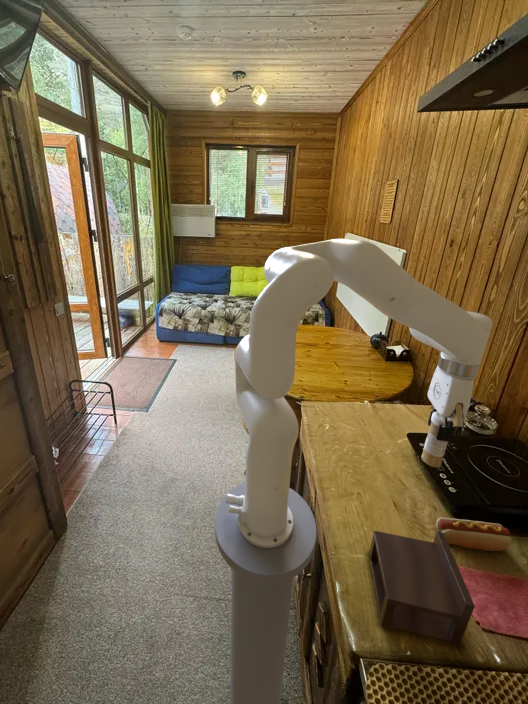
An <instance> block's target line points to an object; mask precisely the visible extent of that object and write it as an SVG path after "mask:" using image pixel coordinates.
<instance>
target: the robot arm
mask: <svg viewBox="0 0 528 704" xmlns="http://www.w3.org/2000/svg"><path fill="white" fill-rule="evenodd" d="M263 273H264V278H265V280H266V282H267V285H266V286H265V287H264V289H263V290H262V291H261V292H260V294H259V295H258V296H257V298H256V299H255V301H254V303H253V306H252V308H251V311H250V316H249V327H248V329H249V332H248V334H247V335H245V336H243V338H242V339H241V340H240V341H239V343H238V345H237V348H236V351H235V356H234V358H235V360H234V368H235V370H234V371H235V395H236V402H237V405H238V408H239V411H240V414H241V415H242V417H243V420H244V423H245V425H246V428H247V432H248V439H249V440H248V444H247V447H246V452H245V477H244V478H245V479H244V483H245V496H244V495H241V497H239V496H235V495H232V494H227V493H226V494H227V498H226V503H229V504H236V505H239V507H240V508H239V507H235V506H231V505H230V506H229V512H230V513H236V514H238V517H237V521H238V527H239V530H240V532H241V533H242V535H243V536H244V538H245V539H246V540H248V541H249V542H250V543H252V544H253V545H256V546H258V547H262V548H273V547H277V546H280V545H282V544H283V543H285V542H286V541H287V540H288V539H289V537H290V535H291V533H292V530H293V515H292V512H291V510H290V508H289V507H288V498H289V488H290V485H291V474H292V473H291V472H292V461H293V454H294V448H295V445H296V442H297V439H298V436H299V429H300V428H299V422H298V418H297V416H296V413H295V411H294V409H293V408H292V407H291V405H290V404H289V402H288V401H287V400H286V398H285V396H286V395H287V394H288V393H289V392H290V391H291V389H292V388H293V384H294V381H295V374H296V347H297V333H298V327H299V324H300V322H301V320H302V318H303V316H304V315H305V314H306V313H307V312H308V311H310V310H311V308H313V307H314V306H315V305H316V304H318V303H319V302H320V301H322V300H323V298H325V297H326V295H327V294H328V293H329V291H330V289H332V288H331V287H332V285H333V282H336V283H339V284H341V285H344V286H345V287H348V288H349V289H350V290H351V291H353V292H354V293H356V294H357V295H358V296H359V297H361V298H362V299H364V300H365V301H366V302H368V303H369V304H370V305H371V306H372V307H374V308H375V309H376V310H377V311H379V312H380V313H382V314H383V315H384V316H386V317H387V318H390V319H392V320H393V321H395V322H397V323H398V324H401V325H403V326H405V327H408V330H409V332H410V335H411V336H412V337H413V338H414V339H415V340H416V341H418V342H419V343H422V344H424V345H426V346H429V347H430V348H432V349H436V350H437V351H439V352H440V354H439V358H438V362H437V366H436V368H435V370H434V373H433V374H432V378H431V381H430V384H429V387H428V391H427V398H428V400H429V401H430V403H431V406H430V414H429V416H428V421H427V425H428V426H429V427H430V424H431V417H432V414H433V413H434V412H438V413H439V414H440V415H441V416H443V417H442V425H440V424H439V428H438V431H437V435H436V439H437V440H440V441H446V442H448V443H451V442H453V438H454V435H455V431H456V430H457V429H458V428H463V427H464V419H465V418H466V416H467V415H468V412H469V407H470V404H471V400H472V395H473V390H474V382H475V379H477V376H478V374H479V370H480V366H481V364H482V360H483V356H484V354H485V350H486V347H487V344H488V341H489V338H490V335H491V331H492V327H493V320H492V319H491V317H490V316H487V315H485V314H483V313H479V312H475V311H470V310H469V311H468V310H465V309H464V308H462V307H460V305H458V304H456V303H454V302H453V301H450V300H449V299H448V298H446V297H444V296H442V295H441V294H439V293H438V292H436V291H435V290H433V289H432V288H430V287H428V286H427V285H424V284H423V283H421V282H420V281H418V280H417V279H415V278H414V277H413V276H412V275H411V274H410V273H409V272H407V271H406V270H405V269H404V268H403V267H402V266H401V265H400V264H399V263H397V262H396V261H395V260H394V259H393V258H392V257H391V256H389V254H387V253H386V252H385V251H384V250H383V249H382V248H380V247H379V246H378V245H376V244H374V243H372V242H370V241H366V240H359V239H351V238H333V239H327V240H322V241H316V242H311V243H303V244H299V245H293V246H286V247H282V248H279V249H277V250H275V251H274V252H273V253H271V254H270V255H269V256H268V258H267V260H266V261H265V264H264V268H263ZM447 417H448V418H453V421H448V422H447Z"/></svg>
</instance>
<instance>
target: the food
mask: <svg viewBox="0 0 528 704" xmlns="http://www.w3.org/2000/svg"><path fill="white" fill-rule="evenodd" d="M435 526H436V532H437V531H438V532H443V533H444V535H445V538H446V540H447V542H448V545H454V546H457V547H458V546H459V547H462V548H467V549H474V550H482V551H489V552H499V551H500V552H501V551H503V550H508V548H510V546H511V545H512V542H513V540H512V537H511V532H510V530H509V529H508V528H506V527H504V526H503V524H500V523H493V522H486V521H481V520H480V521H479V520H470V519H462V518H461V519H459V518H452V517H444V516H443V517H441V516H440V517H438V519H437V520H436V523H435Z"/></svg>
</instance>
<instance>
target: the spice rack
mask: <svg viewBox="0 0 528 704" xmlns="http://www.w3.org/2000/svg"><path fill="white" fill-rule="evenodd" d="M369 548H370V549H369V553H368V556H369V557H368V558H369V565H370V570H371V576H372V582H373V587H374V591H375V592H374V593H375V599H376V604H377V609H378V615H379V621H380V626H381V627H384V628H388V629H392V630H395V631H399V632H403V633H407V634H410V635H415V636H419V637H422V638H426V639H430V640H434V641H438V642H441V643H445V644H448V645H453V646H457V647H460V646H461V643H462V641H463V637H464V636H465V632H466V629H467V628H468V625H469V622H470V619H471V617H472V615H473V613H474V610H475V607H476V606H475V603H474V600H473V598H472V596H471V594H470V592H469V589H468V587H467V585H466V582H465V580H464V578H463V575H462V573H461V571H460V568H459V566H458V563H457V561H456V559H455V556H454V555H453V551H452V550H451V547H450V544H448V542H447V540H446V538H445V535H444V533H443V532H438V531H437V530H436V532H435V536H434V538H433V542H432V541H427V540H423V539H417V538H413V537H407V536H403V535H399V534H392V533H388V532H384V531H380V530H379V531H377V530H373V534H372V538H371V543H370V547H369Z"/></svg>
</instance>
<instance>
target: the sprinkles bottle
mask: <svg viewBox="0 0 528 704" xmlns="http://www.w3.org/2000/svg"><path fill="white" fill-rule="evenodd" d="M442 417H443V416H441V415H440V414H439V413H438V412H434V413H433V414H432V417H431V424H430V426H429V428H428V431H427V436H426V438H425V442H424V446H423V451H422V454H421V456H420V457H421V461H423V463H425V464H426V465H427V466H430V467H433V468H440V467H441V466H442V464H443V463H442V462H443V458H444V456H445V453H446V450H447V446H448V443H449V442H446V441H440V440H437V439H436V435H437V431H438V428H439V424H440V425H442ZM448 421H453V418H448V417H447V422H448Z"/></svg>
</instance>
